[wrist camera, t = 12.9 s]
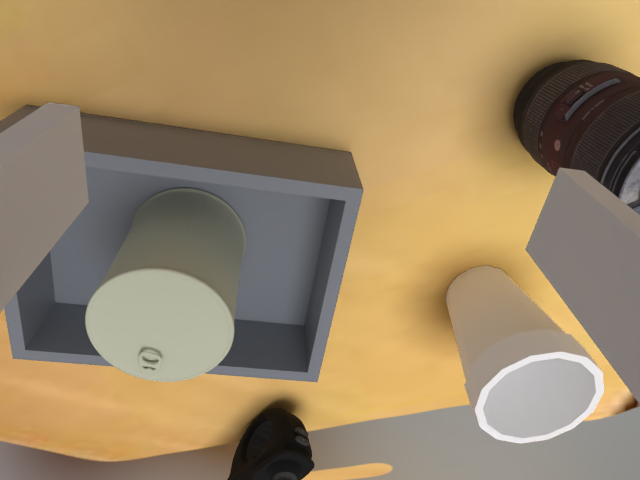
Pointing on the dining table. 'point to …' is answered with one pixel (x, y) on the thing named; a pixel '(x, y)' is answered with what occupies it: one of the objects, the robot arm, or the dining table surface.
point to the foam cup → (518, 360)
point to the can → (171, 288)
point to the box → (258, 221)
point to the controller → (273, 449)
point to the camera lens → (584, 123)
